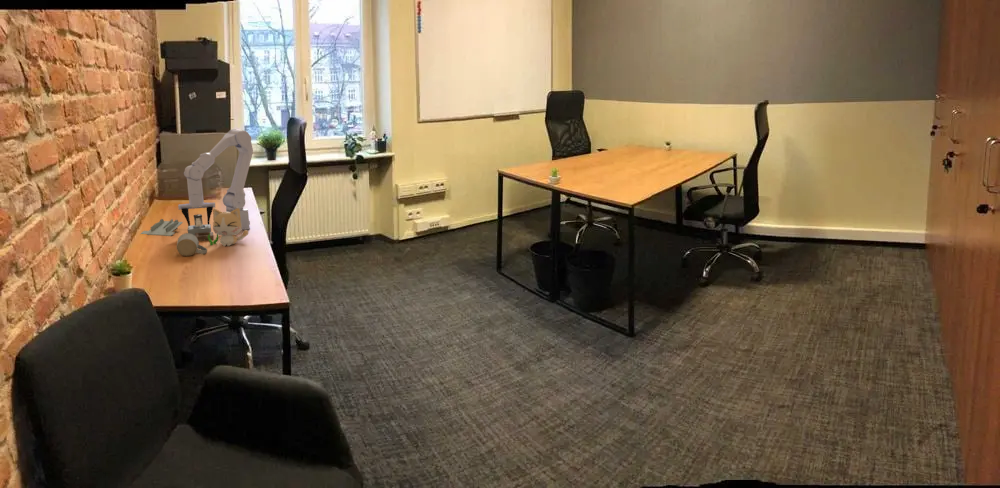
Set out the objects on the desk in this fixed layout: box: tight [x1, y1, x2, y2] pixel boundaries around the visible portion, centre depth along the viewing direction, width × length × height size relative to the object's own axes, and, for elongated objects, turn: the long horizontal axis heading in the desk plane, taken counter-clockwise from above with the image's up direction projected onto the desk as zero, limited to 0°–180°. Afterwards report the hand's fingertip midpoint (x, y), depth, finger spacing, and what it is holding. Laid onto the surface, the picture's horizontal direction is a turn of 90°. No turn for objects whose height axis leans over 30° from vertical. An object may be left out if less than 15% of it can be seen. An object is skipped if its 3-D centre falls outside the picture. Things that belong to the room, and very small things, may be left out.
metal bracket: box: [140, 218, 184, 237], centre depth 307 cm, size 14×6×15 cm
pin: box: [192, 213, 204, 228], centre depth 301 cm, size 3×3×9 cm
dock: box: [186, 223, 212, 236], centre depth 302 cm, size 9×8×4 cm
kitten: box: [207, 207, 249, 247], centre depth 284 cm, size 15×10×15 cm
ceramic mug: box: [176, 232, 208, 257], centre depth 270 cm, size 11×8×8 cm
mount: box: [195, 231, 214, 242], centre depth 295 cm, size 7×7×2 cm
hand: (198, 224), depth 301 cm, fingers open, 7 cm apart
